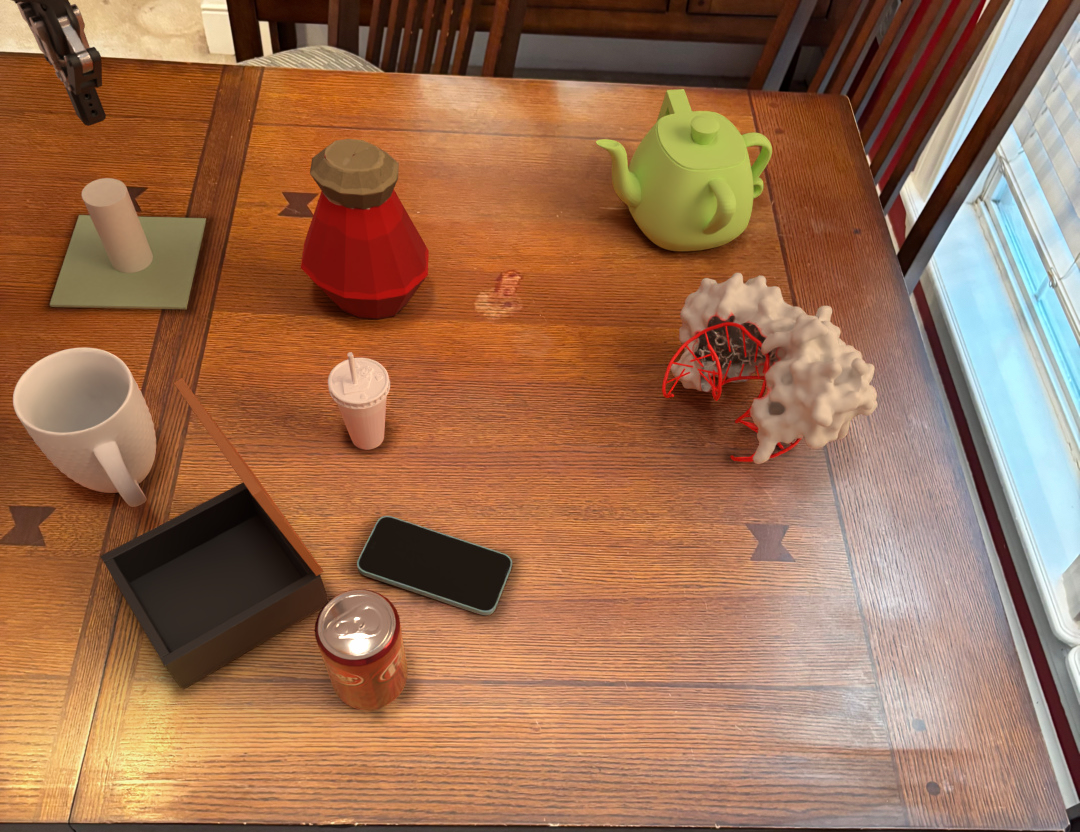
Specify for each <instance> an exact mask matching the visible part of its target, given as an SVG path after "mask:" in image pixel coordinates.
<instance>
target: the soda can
mask: <svg viewBox="0 0 1080 832" xmlns="http://www.w3.org/2000/svg"><path fill="white" fill-rule="evenodd" d="M314 637H315V642H316V644H317V647H318V650H319V652H320V655H321V658H322V660H323V664H324V665H325V666H324V667H325V669H326V671H327V675H328V677H329V680H330V683H331V686H332V689H333V691H334V692H335V694H336V696H337V697H338V699H340V700H341V702H343V703H344V704H345V705H347V706H349V707H350V708H353V709H357V710H361V711H373V710H374V711H375V710H379V709H381V708H384V707H386V706H388V705H390V704H391V703H393V702H394V701H395V700H397V698H398V697H399V696H400V695H401V693H402V692H403V691H404V688H405V687H406V684H407V681H408V673H409V669H408V663H407V656H406V651H405V650H406V649H405V644H404V643H405V642H404V640H403V639H404V637H403V632H402V626H401V619H400V615H399V612H398V610H397V608H396V606H395V605H394V603H393V602H392V601H391V600H389V598H388V597H386V596H384V595H383V594H381V593H379V592H377V591H375V590H370V589H366V588H360V589H359V588H354V589H349V590H345V591H342V592H341V593H339V594H337V595H335V596H333V597H331V598H330V599H328V602H327V603H326V604H325V605H324V607H323V608H321V609H320V611H319V613H318V615H317V617H316V620H315V623H314Z"/></svg>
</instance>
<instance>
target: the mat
mask: <svg viewBox="0 0 1080 832" xmlns="http://www.w3.org/2000/svg"><path fill="white" fill-rule="evenodd" d="M137 216H138V218H139V221H140V223H141V226H142V229H143V231H144V234H145V236H146V239H147V241H148V244H149V246H150V249H151V251H152V254H153V260H152V262H151V264H150V265H149V266H148V267H147V268H145V269H143V270H141V271H139V272H135V273H123V272H120V271H118V270H116V269H115V268H114V267H113V266H112V264H111V261H110V259H109V257H108V255H107V253H106V250H105V248H104V246H103V244H102V241H101V239H100V237H99V235H98V232H97V230H96V228H95V226H94V223H93V221H92V219H91V217H90V214H79V215H78V216H77V220H76V223H75V227H74V229H73V232H72V235H71V238H70V241H69V243H68V247H67V250H66V253H65V256H64V259H63V263H62V265H61V268H60V272H59V274H58V277H57V280H56V283H55V287H54V289H53V293H52V296H51V298H50V301H49V304H48V305H49V307H50V308H81V309H85V308H87V309H132V310H133V309H136V310H139V309H141V310H181V311H183V310H184V311H185V310H187V309H188V304H189V300H190V296H191V291H192V287H193V282H194V278H195V273H196V269H197V264H198V260H199V255H200V250H201V246H202V242H203V237H204V233H205V230H206V229H205V228H206V224H207V218H206V217H175V216H174V217H171V216H139V215H137Z"/></svg>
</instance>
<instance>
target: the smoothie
mask: <svg viewBox="0 0 1080 832" xmlns="http://www.w3.org/2000/svg"><path fill="white" fill-rule="evenodd" d="M327 386H328V393H329V396H330V397H331V398H332V400H333V401H334V402H335V404H336V405H337V408H338V410H339V412H340V416H341V417H342V420H343V423H344V426H345V428H346V431H347V432H348V435H349V438H350V440H351V442H352V445H354V446H355V447H356V448H358V449H360V450H366V451H367V450H373V449H375V448H378V447H379V446H381V445H382V444H383V442H384V439H385V430H386V429H385V428H386V427H385V426H386V414H387V413H386V412H387V399H388V395H389V393H390V390H391V380H390V376H389V373H388V370H387V369H386V368H385V366H384V365H383V364H381V363H380V362H378V361H376V360H375V359H373V358H368V357H355V356H354V353H353V352H352V351H351V352H350V351H349V352H347V359H344V360H343V361H341V362H339V363H337V365H335V366H334V367H333V368H332V370H331V371H330V372H329V374H328V377H327Z"/></svg>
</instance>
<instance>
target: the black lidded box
mask: <svg viewBox="0 0 1080 832" xmlns="http://www.w3.org/2000/svg"><path fill="white" fill-rule="evenodd" d="M100 559H101V560H102V562H103V564H104V566H105V567H106V569H107V571H108V573H109V574H110V576H111V577H112V579H113V581H114V583H115V584H116V586H117V588H118V589H119V591H120V593H121V595H122V596H123V598H124V600H125V601H126V603H127V605H128V606H129V608H130V610H131V612H132V613H133V615H134V616H135V617H134V618H136V621H137V622H138V623H139V625H140V627H141V629H142V630H143V632H144V634H145V635H146V637H147V639H148V640H149V642H150V644H151V646H152V647H153V649H154V651H155V653H156V655H157V656H158V658H159V659H160V661H161V663H162V664H163V667H165V669H166V670H167V671H168V673H169V674H170V675H171V676H172V678H173V680H174V681H175V682H176V683H177V685H178V686H179V687H180V688H181V689H182V690H183V691H184V690H186V689H187V688H189V687H191V686H192V685H194V684H195V683H197V682H200V681H201V680H202V679H204V678H206V677H207V676H210V675H211V674H212V673H215V672H216V671H218V670H219V669H222V668H223V667H224V666H226V665H228V664H230V663H232V662H233V661H234V660H236V659H238V658H239V657H242V656H243V655H245V654H247V653H249V652H250V651H252V650H253V649H255V648H257V647H259V646H260V645H262V644H263V643H265V642H267V641H268V640H270V639H272V638H274V637H276V636H277V635H279V634H281V633H282V632H283V631H285V630H287V629H289V628H291V627H293V626H294V625H296V624H297V623H299V622H301V621H302V620H304V619H306V618H307V617H309V616H311V615H313V614H314V613H316V612H318V611H319V610H321V609H322V608H323V607H324V605H325V604H326V603H327V602H328V601H329V599H328V596H327V592H326V589H325V586H324V583H323V579H322V576H321V573H320V574H319V575H318V576H316V575H315V574H314V572H313V571H312V570H311V569H310V567H309V566H308V565H307V564H306V562H305V561H304V560H303V559H302V557H301V556H300V555H299V554H298V552H297V551H296V550H295V549H294V547H293V546H292V545H291V543H290V542H289V541H288V540H287V538H286V537H285V536H284V535H283V533H282V532H281V531H280V530H279V528H278V527H277V526H276V525H275V523H274V522H273V521H272V520H271V518H270V517H269V516H268V515H267V513H266V512H265V511H264V509H263V508H262V507H261V506H260V504H259V503H258V502H257V501H256V499H255V498H254V497H253V496H252V494H251V493H250V491H249V490H248V488H247V487H246V486H245V484H244V483H243V482H241V483H239V484H237V485H235V486H233V487H231V488H230V489H228V490H226V491H224V492H222V493H220V494H217V495H216V496H214V497H212V498H210V499H208V500H206V501H204V502H202V503H200V504H198V505H197V506H194V507H192V508H190V509H189V510H187V511H185V512H183V513H181V514H179V515H177V516H175V517H173V518H171V519H170V520H168V521H167V520H166V522H164V523H161V524H159V525H157V526H156V527H154V528H152V529H150V530H148V531H146V532H144V533H142V534H140V535H138V536H136V537H134V538H132V539H131V540H129V541H126V542H125V543H123V544H121V545H119V546H117V547H115V548H112V549H111V550H109V551H107V552H105V553H103V554H101V555H100Z"/></svg>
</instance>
